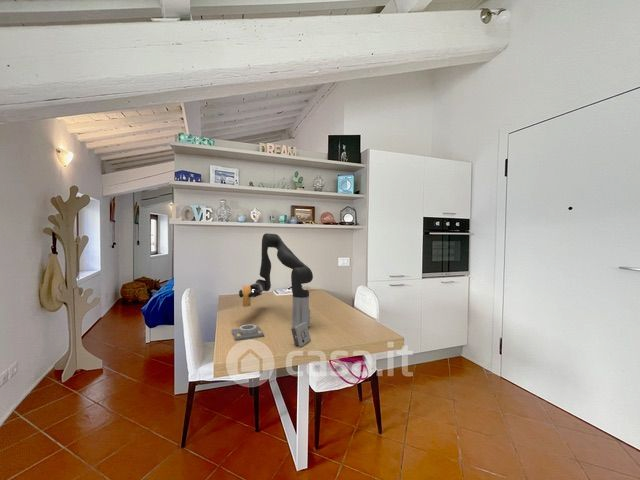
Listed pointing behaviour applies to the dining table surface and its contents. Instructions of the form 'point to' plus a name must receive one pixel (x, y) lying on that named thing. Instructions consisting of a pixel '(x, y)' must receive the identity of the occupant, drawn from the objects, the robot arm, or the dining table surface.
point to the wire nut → (246, 296)
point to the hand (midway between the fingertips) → (244, 295)
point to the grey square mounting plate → (247, 332)
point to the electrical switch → (301, 334)
